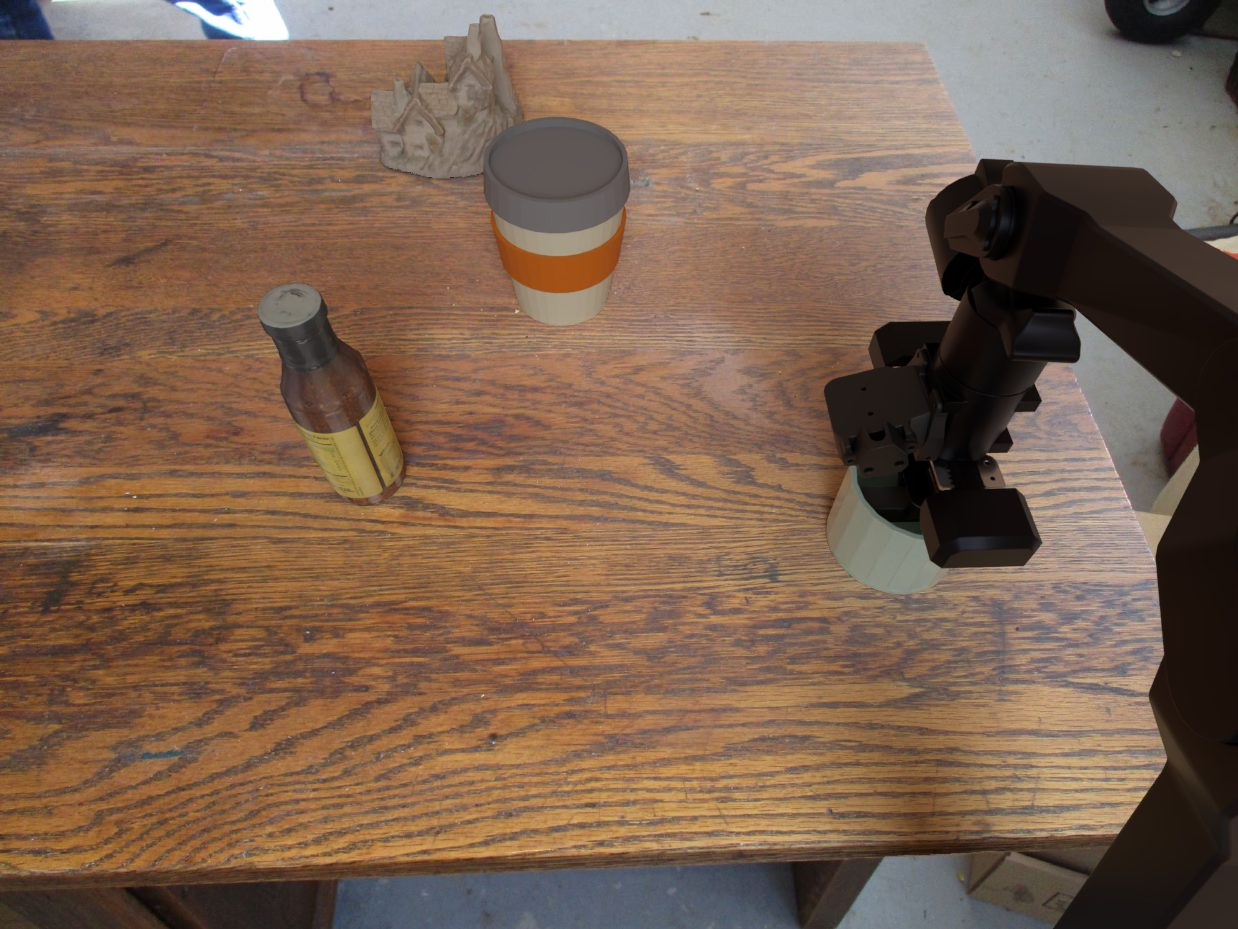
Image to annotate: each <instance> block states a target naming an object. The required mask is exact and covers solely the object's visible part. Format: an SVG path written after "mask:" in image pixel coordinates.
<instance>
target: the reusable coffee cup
mask: <svg viewBox="0 0 1238 929" xmlns="http://www.w3.org/2000/svg"><path fill="white" fill-rule="evenodd" d="M628 158H629V156H628V151H627V149H626V146H625V144H624V143H623V141H622V140H621V139H620V138H619V137H618V136H617V135H616V134H615V133H613V132H612V131H611V130H610V129H608V128H606V127H604V126H602V125H600V124H598V123H595V122H592V121H589V120H587V119H586V120H585V119H581V118H577V117H570V116H569V117H567V116H546V117H537V118H536V117H535V118H532V119H529V120H523V122H521V123H518V124H516V125H513V126H511V127H509V128H507V129H506V130H504V131H502V132H501V133H499V134H498V135H497V136H496V137H495V138H493V140H492V141H491V142H490V144H489V145H488V146H487V148H486V151H485V153H484V162H483V173H482V174H483V194H484V199H485V201H486V203H487V206H489V208H490V209H491V210H490V218H489V219H490V224H491V228H492V231H493V235H494V238H495V241H496V242H495V243H496V245H497V249H498V253H499V256H500V259H501V260H500V261H501V262H502V266H503V267H504V269H505V271H506V273H507V274H508V275H509V276H510V279H511V282H512V285H513V289H514V292H515V296H516V300H517V303H518V305H519V307H520V309H521V311H523V312H524V314H526V315H527V316H528V317H529V318H531V319H533V320H535V321H537V322H538V323H541V324H544V325H545V324H546V325H549V326H555V327H556V326H557V327H567V326H573V325H579V324H582V323H585V322H587V321H590V320H591V319H593V318H594V317H595V316H598V314H599V313H600V312H601V311H602V310H603V309H604V308H605V306H606V305H607V302H608V298H609V293H610V287H611V281H612V276H613V273H614V271H615V269H616V267H617V266H618V263H619V260H620V255H621V251H622V245H623V239H624V235H625V234H624V233H625V228H626V222H627V208H626V206H625V205H626V204H627V202H628V200H629V199H630V198H629V197H630V193H631V179H630V169H629V168H630V167H629V159H628Z"/></svg>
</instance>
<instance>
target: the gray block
mask: <svg viewBox="0 0 1238 929" xmlns="http://www.w3.org/2000/svg"><path fill="white" fill-rule="evenodd" d="M860 490H861V492H862V494H863V496H864V499H865V500H866V501H867V502H868V503H869V505H870V506H871V507H872V508H873V509H874V510H875V512H876V513H877V514H878V515H880V516H881V517H883V518H884V519H886V520H887V521H888V522H890V523H891V522H920V519H906V517H905V511H906V507H907V503H908V500H909V494H908V491H907V487H906V486H880V487H860Z"/></svg>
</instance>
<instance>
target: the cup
mask: <svg viewBox="0 0 1238 929" xmlns="http://www.w3.org/2000/svg"><path fill="white" fill-rule="evenodd" d="M897 483H898V472H896V473H892V474H887V475H882V476H877V477H873V478H866V477H863V476H861V475H860V473H859V469H858V467H856V466H847V469H846V472H845V474H844V477H843V479H842V482H841V483H840V486H839V488H838V491H837V493H836V496H835V498H834V500H833V503H832V505H831V508H830V511H829V513H828V516H827V519H826V528H825V532H826V539H827V544H828V546H829V549H830V551H831V553H832V556H833V557H834V559H835V560H836V561H837V563H838V564H839V566H841V568H842V569H843V570H844V571H845V572H846V573H847V574H849V576H851V577H852V578H853V579H855V580H856V581H858V582H859V583H861V584H862V585H864V586H866V587H868V588H871V589H873V590H876V591H878V592H882V593H886V594H892V595H912V594H918V593H921V592H925V591H927V590H929V589H931V588H932V587H934V586H936V585H937V584H939V583H940V582H941V581H942V580H943V579H944V578H945V576H946V575H947V573H948V572H950V570H951V568H943V569H941V568H940V567H939V566H937V565H936V564H934V563H933V562H931V561H930V559H929V555H928V552H927V549H926V545H925V542H924V538H923V535H922V532H921V528H920V522H891V523H890V522H888V521H887V520H886V519H884V518H883V517H881V516H880V515H878V514H877V513H876V512H875V510H874V509H873V508H872V507H871V506H870V505H869V503H868V502H867V501H866V500H865V499H864V496H863V494H862V492H861V490H860V487H880V486H897Z"/></svg>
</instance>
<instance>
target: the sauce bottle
mask: <svg viewBox="0 0 1238 929" xmlns="http://www.w3.org/2000/svg"><path fill="white" fill-rule="evenodd" d="M256 314H257V317H258V320H259V322H260V325H261V327H262V330H263V331H264V332H265V333H266V334H267V335H268V337H270V338H271V340H272V342H273V343H274V346H275V347H276V350H277V351H278V354H277V355H278V356H279V358H280V362H281V376H280V383H279V391H280V396H281V398H282V399H283V401H284V403H285V405H286V408H287V409H288V412H289V414H290V417H291V419H292V420H293V422H294V424H295V426H296V427H297V429H298V431H299V433H300V436H301V437H302V439H303V441H304V442H305V444H306V446H307V448H308V450H309V451H310V453H311V455H312V457H313V458H314V461H315V462H316V464H317V465H318V467H319V469H320V471H321V472H322V474H323V477H324V478H325V480H326V482H327V483H328V485H329V487H330V488H331V489H332V490H333V491H334V493H335V494H336V495H337V496H338V497H340V498H341V499H343V500H345V501H346V502H348V503H351V504H355V505H357V506H368V505H374V504H377V503H379V502H383V501H384V500H387V499H389V498H391V497H392V496H394V494H396V492H397V491H398V490H399V489H400V488H401V485H402V483H403V482H404V480H405V476H406V472H407V469H406V468H407V467H406V464H405V460H404V454H403V450H402V447H401V445H400V442H399V440H398V437H397V435H396V433H395V430H394V427H393V425H392V423H391V420H390V418H389V415H388V413H387V410H386V408H385V405H384V403H383V400H382V397H381V395H380V393H379V390H378V386H377V385H376V382H375V380H374V378H373V377H372V376H371V374H370V371H369V369H368V366H367V364H366V362H365V360H364V358H363V355H362V354H361V352H360V351H359V350H358V349H355V348H353V347H352V346H351V345H349V344H348V343H347V342H345V341H344V340H342V339H340V338H339V337H338V335H337V333H335V331H334V329H333V327H332V324H331V322H330V320H329V317H328V316H329V315H328V314H329V309H328V305H327V303H326V302H325V300H324V298H323V295H322V294H321V293H320V291H319V290H318V289H317V288H316V287H314V286H313V285H310V284H308V283H303V282H292V283H285V284H281V285H277V286H275V287H272V288H271V289H269V291H267V292H266V293H265V294H264V295H263V296H262V297H261V299H260V300H259V301H258V304H257V309H256Z"/></svg>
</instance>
